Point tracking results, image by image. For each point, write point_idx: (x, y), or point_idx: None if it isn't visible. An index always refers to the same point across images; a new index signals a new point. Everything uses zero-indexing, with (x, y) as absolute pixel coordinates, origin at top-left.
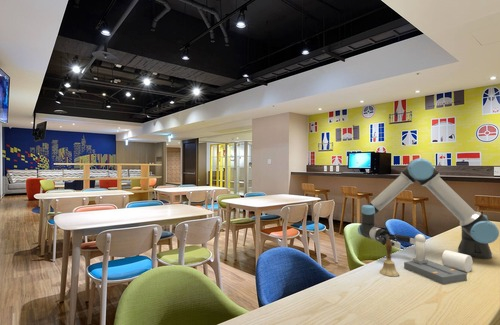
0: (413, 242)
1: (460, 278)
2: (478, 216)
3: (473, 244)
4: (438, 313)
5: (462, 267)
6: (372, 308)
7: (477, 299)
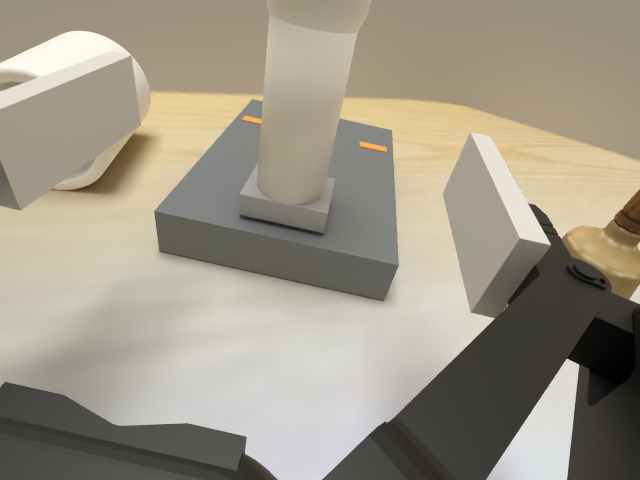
0: (65, 147)
1: None
2: None
3: None
4: (551, 142)
5: (146, 111)
6: None
7: (386, 113)
